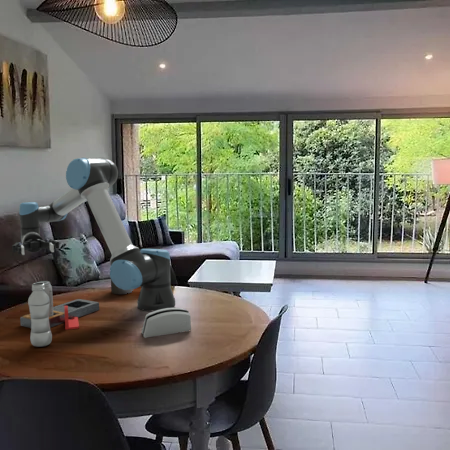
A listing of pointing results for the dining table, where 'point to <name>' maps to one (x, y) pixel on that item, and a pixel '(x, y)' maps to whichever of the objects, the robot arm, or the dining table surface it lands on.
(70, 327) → the bracket
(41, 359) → the dining table surface
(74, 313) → the grey compartment tray
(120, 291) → the pillar candle
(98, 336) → the dining table surface
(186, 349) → the dining table surface
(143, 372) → the dining table surface
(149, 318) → the white plastic holder
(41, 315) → the plastic bottle
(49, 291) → the energy drink can
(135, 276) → the robot arm
